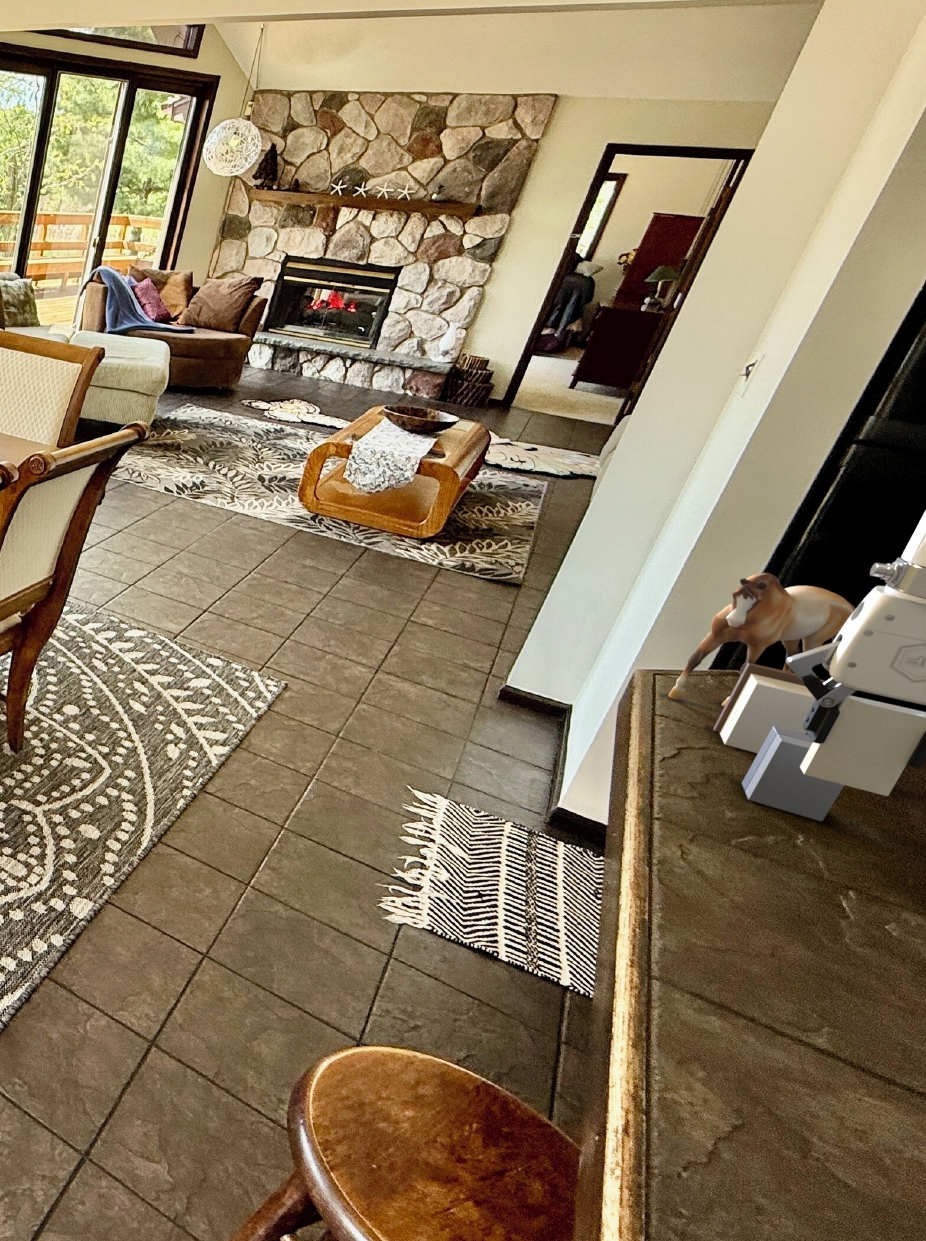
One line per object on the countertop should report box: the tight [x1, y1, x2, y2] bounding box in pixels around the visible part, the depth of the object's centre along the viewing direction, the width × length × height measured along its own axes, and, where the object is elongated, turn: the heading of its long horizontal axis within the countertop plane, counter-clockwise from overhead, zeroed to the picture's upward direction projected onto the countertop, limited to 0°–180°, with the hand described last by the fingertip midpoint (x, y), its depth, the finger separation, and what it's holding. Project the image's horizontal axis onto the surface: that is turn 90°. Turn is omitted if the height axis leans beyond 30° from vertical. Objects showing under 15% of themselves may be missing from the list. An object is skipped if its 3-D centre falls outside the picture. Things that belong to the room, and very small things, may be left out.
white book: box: [800, 695, 926, 797], centre depth 90 cm, size 6×2×9 cm, turn 52°
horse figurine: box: [668, 572, 857, 708], centre depth 123 cm, size 31×8×21 cm, turn 100°
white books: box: [713, 663, 826, 754], centre depth 112 cm, size 7×5×10 cm
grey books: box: [741, 726, 845, 822], centre depth 101 cm, size 6×4×8 cm
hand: (861, 748), depth 91 cm, fingers closed on white book, 6 cm apart
